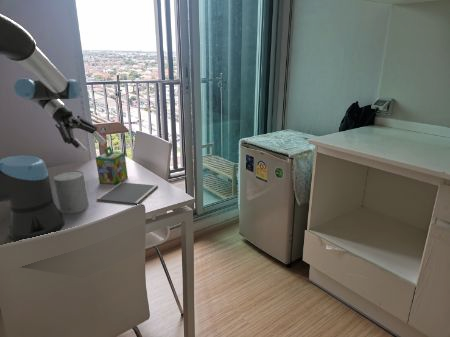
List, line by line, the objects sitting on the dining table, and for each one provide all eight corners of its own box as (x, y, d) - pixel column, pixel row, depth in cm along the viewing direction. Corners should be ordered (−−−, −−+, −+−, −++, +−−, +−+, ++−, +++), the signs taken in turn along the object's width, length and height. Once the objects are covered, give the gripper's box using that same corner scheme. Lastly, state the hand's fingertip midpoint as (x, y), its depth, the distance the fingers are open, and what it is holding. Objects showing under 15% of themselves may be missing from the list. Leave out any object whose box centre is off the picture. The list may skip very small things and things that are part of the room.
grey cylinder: (54, 211, 115) (47, 178, 111) (74, 200, 123) (69, 169, 119) (74, 215, 111) (68, 182, 107) (94, 203, 120) (89, 172, 116)
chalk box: (118, 184, 137) (113, 151, 132) (98, 183, 139) (93, 150, 134) (128, 177, 145) (124, 145, 141) (110, 176, 147) (105, 144, 142)
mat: (137, 205, 118) (137, 202, 118) (96, 200, 122) (96, 198, 122) (157, 187, 134) (157, 185, 133) (120, 184, 138) (120, 182, 137)
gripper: (74, 112, 151) (106, 145, 153) (32, 123, 129) (71, 161, 130) (82, 101, 148) (115, 134, 150) (41, 110, 126) (81, 150, 127)
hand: (95, 147), depth 140 cm, fingers open, 13 cm apart
